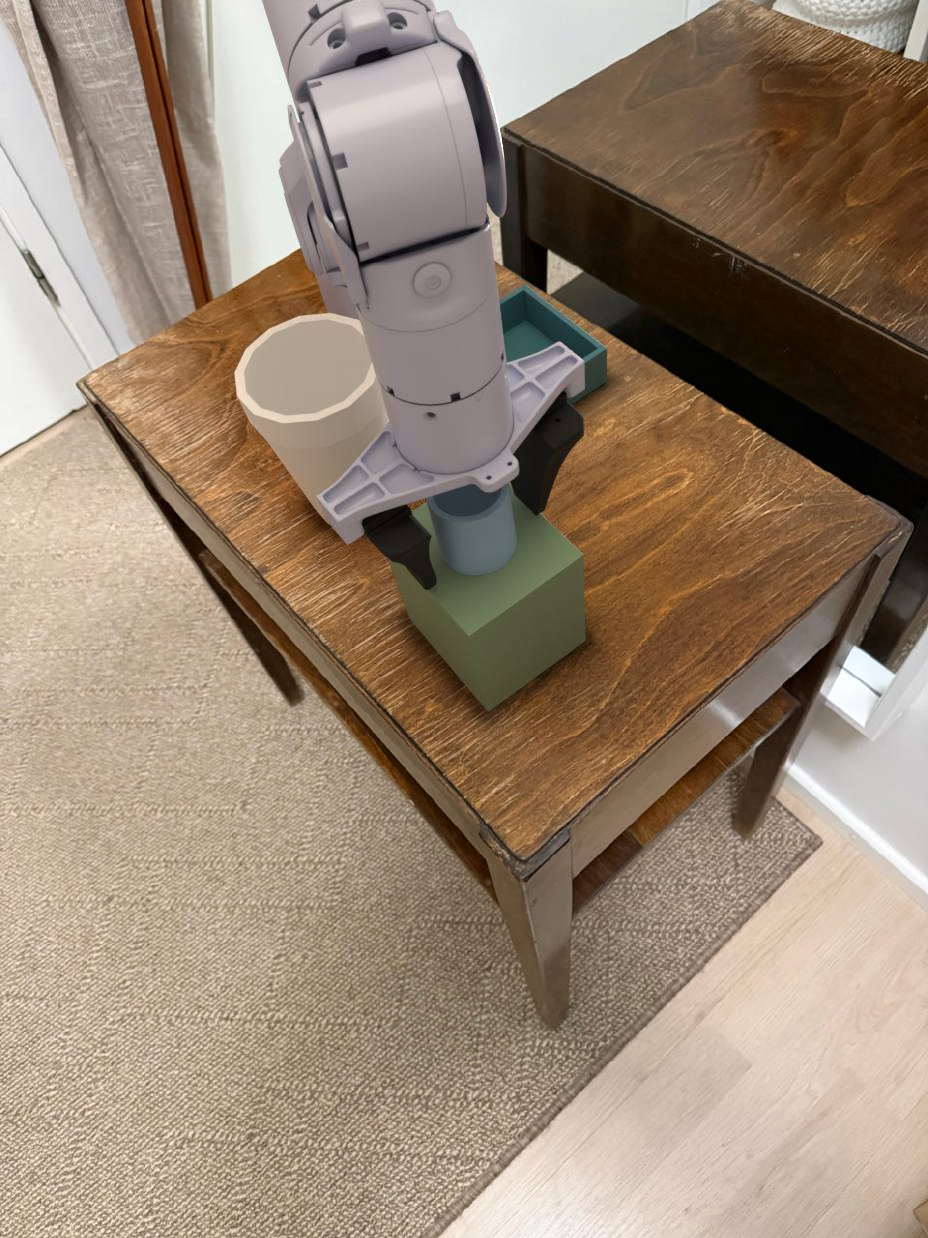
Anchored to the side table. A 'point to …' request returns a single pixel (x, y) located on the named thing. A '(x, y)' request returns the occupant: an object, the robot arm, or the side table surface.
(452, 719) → the side table surface
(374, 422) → the foam cup
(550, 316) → the bin
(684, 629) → the side table surface
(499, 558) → the blue cup
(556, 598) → the sage green cube
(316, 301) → the side table surface
